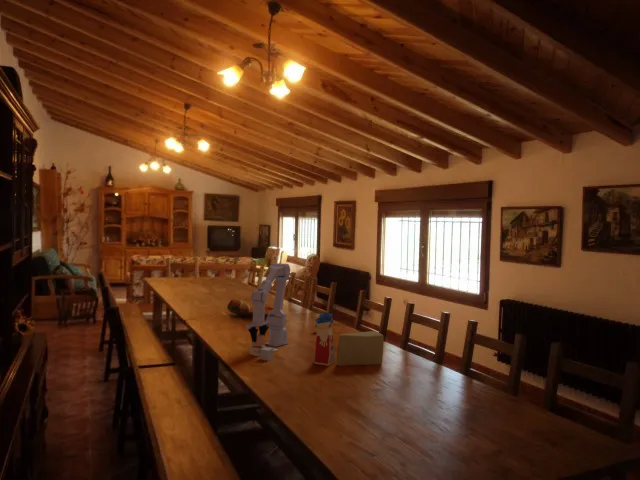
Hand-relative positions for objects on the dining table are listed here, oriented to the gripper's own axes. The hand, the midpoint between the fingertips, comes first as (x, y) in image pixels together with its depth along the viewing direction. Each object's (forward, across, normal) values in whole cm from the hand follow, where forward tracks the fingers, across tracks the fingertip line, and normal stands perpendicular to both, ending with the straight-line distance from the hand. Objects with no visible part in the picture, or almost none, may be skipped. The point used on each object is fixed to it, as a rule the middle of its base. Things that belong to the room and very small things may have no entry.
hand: (257, 340), depth 243 cm
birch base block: (+7, 0, 0) cm, 7 cm away
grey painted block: (+7, +2, +9) cm, 11 cm away
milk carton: (+7, -15, +31) cm, 35 cm away
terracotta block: (+2, 0, 0) cm, 2 cm away
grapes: (+7, -62, -10) cm, 63 cm away
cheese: (+7, -26, +44) cm, 51 cm away
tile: (+7, -9, -1) cm, 11 cm away
